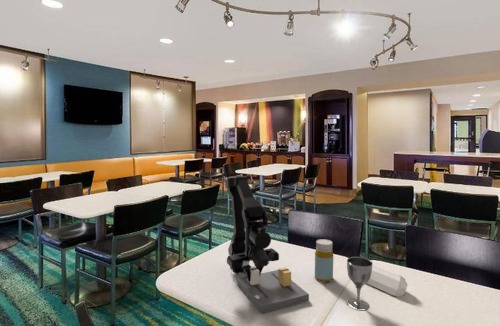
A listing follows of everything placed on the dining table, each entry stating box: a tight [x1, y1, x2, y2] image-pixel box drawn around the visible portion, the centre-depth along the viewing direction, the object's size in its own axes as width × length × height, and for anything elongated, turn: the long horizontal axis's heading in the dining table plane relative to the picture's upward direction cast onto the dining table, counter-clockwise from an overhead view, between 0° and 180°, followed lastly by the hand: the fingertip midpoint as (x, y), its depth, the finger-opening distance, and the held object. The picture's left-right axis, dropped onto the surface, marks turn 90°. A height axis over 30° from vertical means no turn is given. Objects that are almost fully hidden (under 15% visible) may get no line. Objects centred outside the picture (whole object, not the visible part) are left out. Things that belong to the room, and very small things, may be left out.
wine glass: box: [346, 256, 373, 311], centre depth 104 cm, size 8×8×15 cm
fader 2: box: [277, 267, 292, 287], centre depth 113 cm, size 4×3×5 cm
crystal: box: [366, 263, 408, 297], centre depth 119 cm, size 7×7×24 cm
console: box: [236, 269, 310, 314], centre depth 112 cm, size 21×18×3 cm
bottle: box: [314, 238, 334, 283], centre depth 122 cm, size 7×7×15 cm
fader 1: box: [247, 265, 259, 285], centre depth 114 cm, size 4×3×5 cm
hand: (253, 280), depth 114 cm, fingers closed on fader 1, 3 cm apart
